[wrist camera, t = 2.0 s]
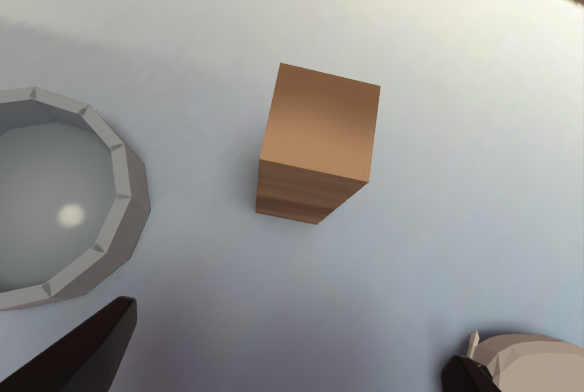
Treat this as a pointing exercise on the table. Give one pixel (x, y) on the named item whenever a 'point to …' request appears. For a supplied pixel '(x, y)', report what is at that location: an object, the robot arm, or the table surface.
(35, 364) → the robot arm
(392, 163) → the table surface
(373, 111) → the walnut block
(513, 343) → the robot toy
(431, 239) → the table surface
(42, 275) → the shallow grey bowl
